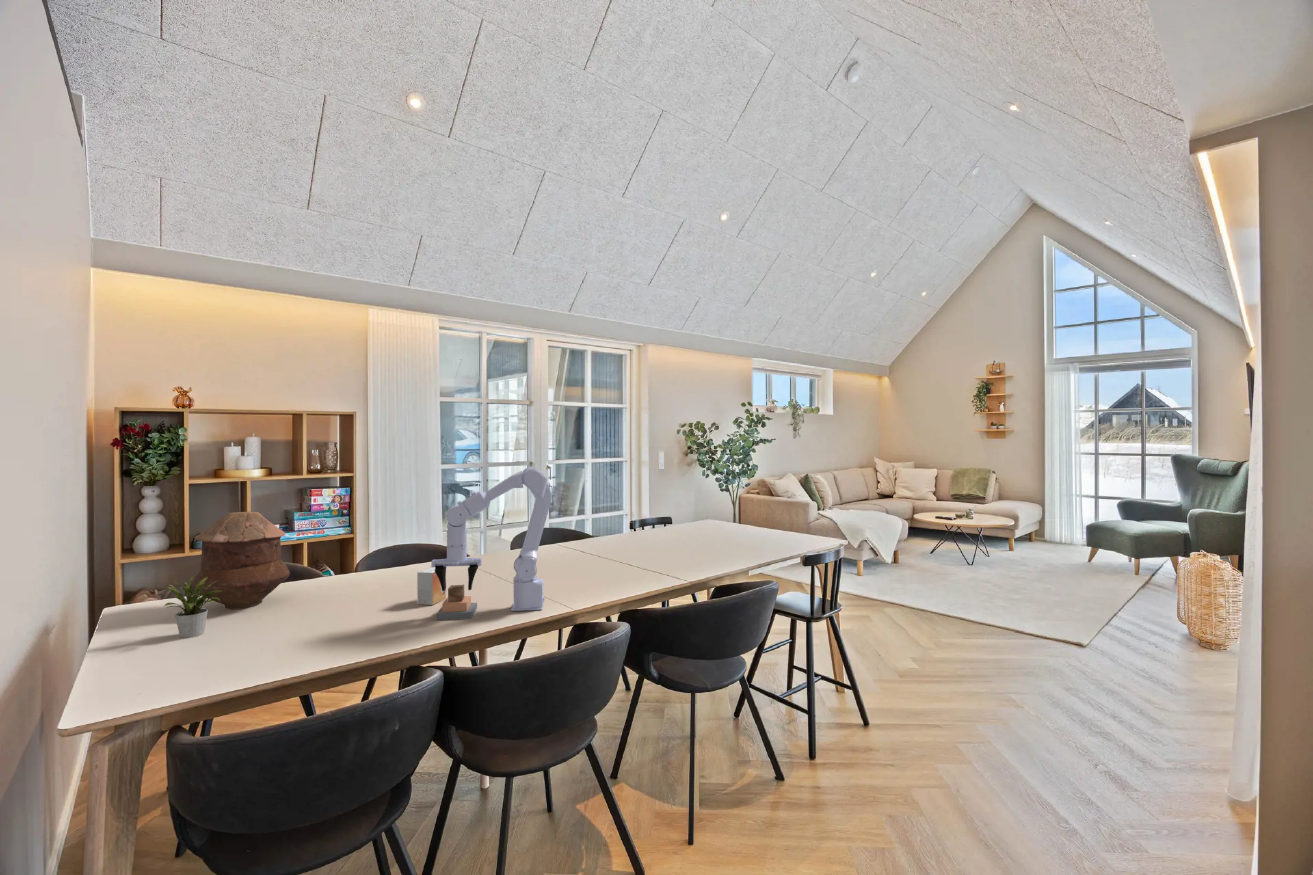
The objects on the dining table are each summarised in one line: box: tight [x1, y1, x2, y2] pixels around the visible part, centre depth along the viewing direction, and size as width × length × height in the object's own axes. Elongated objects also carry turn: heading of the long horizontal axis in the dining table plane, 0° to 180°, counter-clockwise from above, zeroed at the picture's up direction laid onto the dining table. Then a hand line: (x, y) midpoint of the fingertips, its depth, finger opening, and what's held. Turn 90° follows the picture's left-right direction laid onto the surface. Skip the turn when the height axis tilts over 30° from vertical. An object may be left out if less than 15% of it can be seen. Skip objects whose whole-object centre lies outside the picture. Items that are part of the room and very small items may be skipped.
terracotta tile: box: [441, 595, 472, 612], centre depth 178 cm, size 7×7×2 cm
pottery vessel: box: [192, 511, 291, 610], centre depth 188 cm, size 26×26×30 cm
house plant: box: [155, 574, 221, 639], centre depth 159 cm, size 14×14×16 cm
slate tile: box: [435, 602, 478, 621], centre depth 178 cm, size 10×10×2 cm
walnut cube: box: [447, 584, 465, 602], centre depth 178 cm, size 4×4×4 cm
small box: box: [416, 567, 447, 606], centre depth 191 cm, size 8×6×10 cm
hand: (457, 589), depth 178 cm, fingers open, 7 cm apart
